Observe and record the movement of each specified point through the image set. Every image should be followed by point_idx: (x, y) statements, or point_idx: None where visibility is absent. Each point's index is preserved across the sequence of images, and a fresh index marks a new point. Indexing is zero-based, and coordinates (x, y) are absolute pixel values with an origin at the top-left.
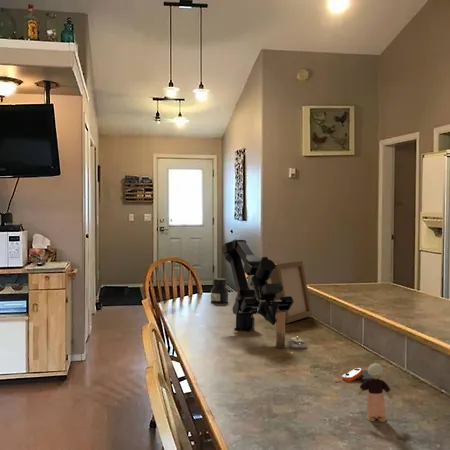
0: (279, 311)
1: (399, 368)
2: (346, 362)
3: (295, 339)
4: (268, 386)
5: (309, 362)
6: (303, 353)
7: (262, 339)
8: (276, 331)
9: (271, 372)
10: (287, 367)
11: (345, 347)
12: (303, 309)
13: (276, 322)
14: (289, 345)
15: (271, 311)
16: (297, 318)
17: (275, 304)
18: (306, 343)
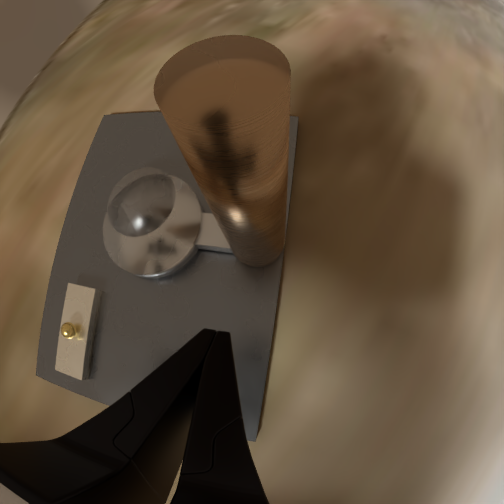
0: (203, 116)
1: (94, 12)
2: (145, 42)
3: (83, 332)
4: (447, 11)
5: None
6: None
7: None
8: (286, 202)
9: (424, 46)
10: (361, 50)
11: (5, 184)
12: None
13: (286, 166)
14: (204, 214)
15: (142, 476)
16: None
17: (22, 467)
18: (114, 188)
